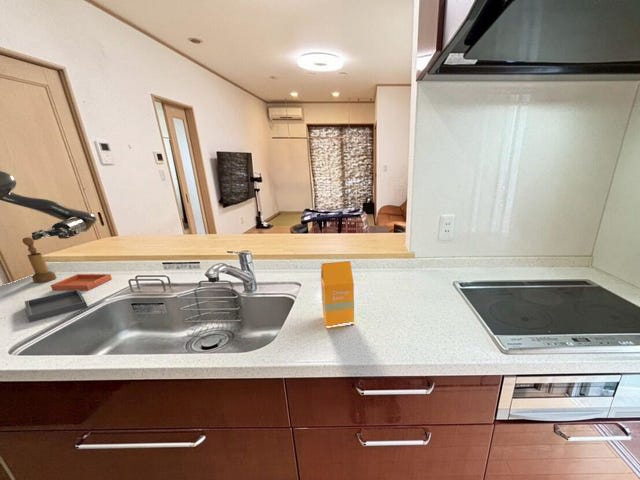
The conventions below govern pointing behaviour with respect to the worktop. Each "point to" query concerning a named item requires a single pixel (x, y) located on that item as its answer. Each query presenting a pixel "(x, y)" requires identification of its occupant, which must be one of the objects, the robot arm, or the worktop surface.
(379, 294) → the worktop surface
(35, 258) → the mortar and pestle
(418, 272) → the worktop surface
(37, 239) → the robot arm
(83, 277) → the terracotta tray
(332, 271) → the orange juice
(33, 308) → the grey tray
